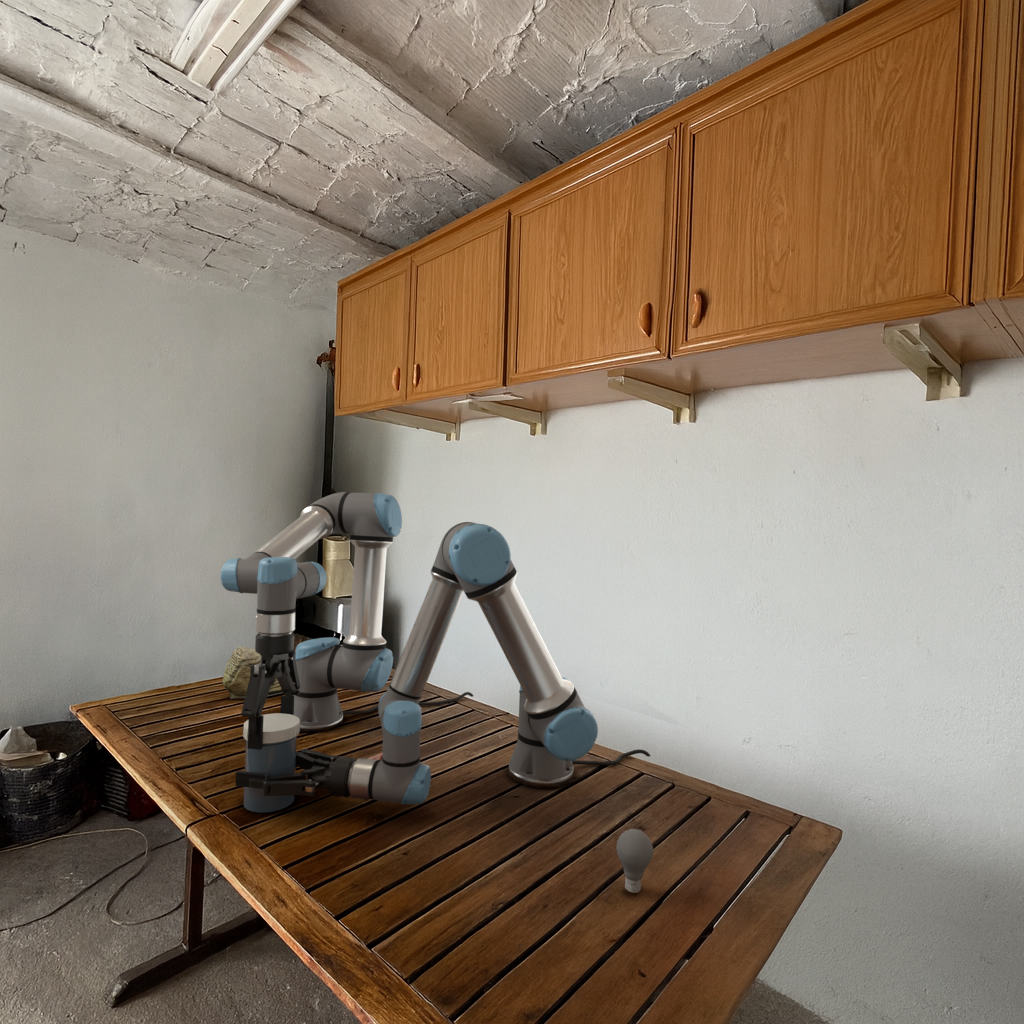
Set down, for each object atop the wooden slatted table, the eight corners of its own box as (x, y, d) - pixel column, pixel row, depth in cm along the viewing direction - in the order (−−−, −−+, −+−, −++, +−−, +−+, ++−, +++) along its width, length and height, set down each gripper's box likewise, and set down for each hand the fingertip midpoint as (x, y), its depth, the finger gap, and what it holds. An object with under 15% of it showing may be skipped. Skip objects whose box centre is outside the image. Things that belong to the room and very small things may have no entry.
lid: (253, 723, 136) (253, 712, 136) (305, 724, 137) (306, 713, 137) (234, 743, 125) (235, 731, 125) (291, 744, 126) (291, 732, 126)
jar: (238, 796, 132) (241, 722, 132) (287, 786, 138) (290, 715, 138) (249, 817, 124) (251, 738, 124) (300, 805, 130) (303, 730, 129)
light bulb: (610, 879, 108) (613, 822, 108) (644, 879, 109) (647, 822, 109) (619, 902, 102) (622, 840, 102) (655, 901, 103) (658, 840, 103)
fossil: (218, 695, 195) (220, 647, 195) (278, 685, 208) (279, 640, 207) (228, 703, 189) (230, 653, 188) (289, 692, 201) (290, 645, 201)
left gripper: (287, 620, 143) (283, 715, 143) (223, 644, 119) (219, 758, 119) (318, 623, 142) (314, 718, 142) (261, 647, 118) (256, 762, 118)
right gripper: (330, 823, 118) (218, 811, 120) (372, 772, 140) (276, 763, 143) (332, 783, 117) (220, 772, 120) (373, 739, 140) (278, 730, 143)
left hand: (271, 736), depth 131 cm, fingers open, 12 cm apart
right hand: (250, 767), depth 131 cm, fingers closed on jar, 10 cm apart
